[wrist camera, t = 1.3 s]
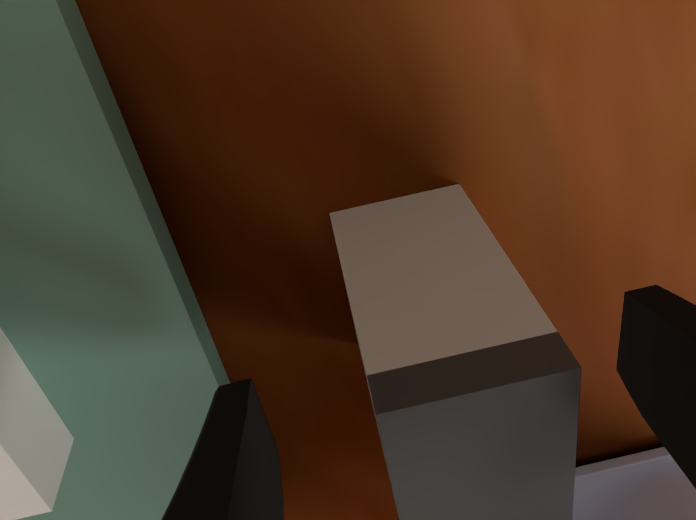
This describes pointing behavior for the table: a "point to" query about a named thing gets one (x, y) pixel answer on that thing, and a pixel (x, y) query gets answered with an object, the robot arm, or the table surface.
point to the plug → (458, 363)
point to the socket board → (87, 293)
